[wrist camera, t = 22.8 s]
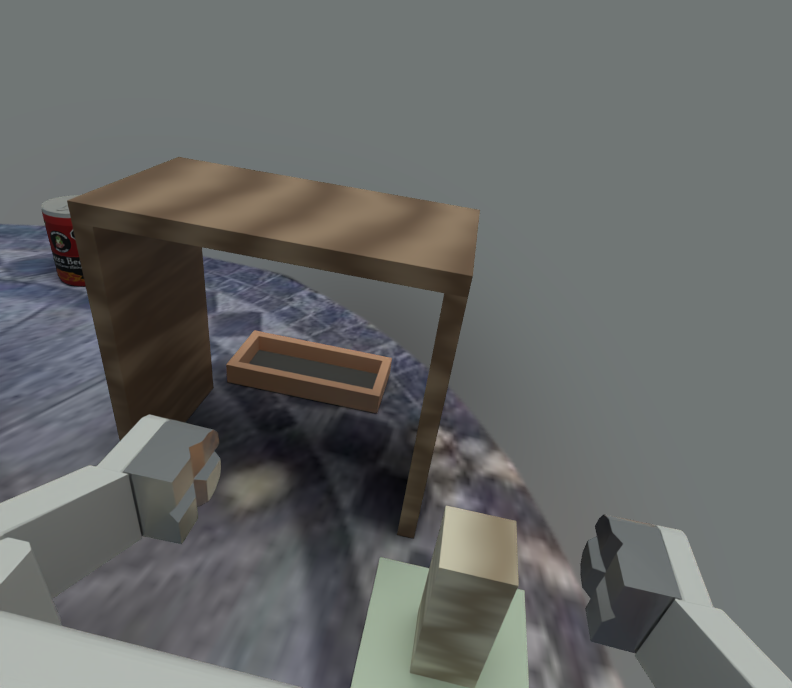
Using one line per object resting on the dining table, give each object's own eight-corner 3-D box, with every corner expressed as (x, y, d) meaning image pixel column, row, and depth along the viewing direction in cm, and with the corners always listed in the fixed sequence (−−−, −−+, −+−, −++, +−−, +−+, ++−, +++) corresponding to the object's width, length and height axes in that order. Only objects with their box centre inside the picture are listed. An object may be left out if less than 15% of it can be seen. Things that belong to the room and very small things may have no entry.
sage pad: (342, 724, 33) (343, 720, 33) (379, 561, 43) (380, 557, 43) (529, 773, 32) (532, 769, 32) (522, 594, 42) (524, 590, 42)
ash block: (409, 672, 35) (439, 567, 29) (418, 610, 39) (445, 505, 33) (474, 689, 35) (518, 585, 29) (476, 624, 39) (516, 521, 32)
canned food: (45, 280, 75) (26, 206, 69) (86, 260, 81) (71, 191, 75) (93, 291, 74) (77, 217, 68) (129, 270, 80) (118, 201, 74)
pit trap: (227, 382, 60) (226, 364, 59) (254, 346, 67) (254, 330, 66) (377, 413, 59) (379, 396, 58) (389, 374, 66) (391, 358, 64)
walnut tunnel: (126, 472, 47) (66, 200, 34) (200, 385, 59) (178, 156, 46) (413, 538, 45) (472, 276, 32) (431, 433, 57) (479, 210, 44)
